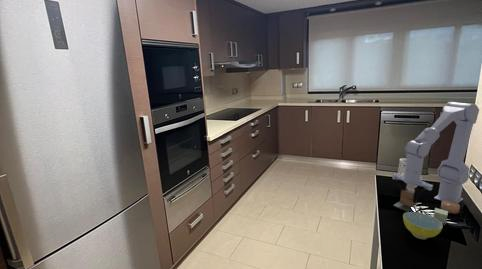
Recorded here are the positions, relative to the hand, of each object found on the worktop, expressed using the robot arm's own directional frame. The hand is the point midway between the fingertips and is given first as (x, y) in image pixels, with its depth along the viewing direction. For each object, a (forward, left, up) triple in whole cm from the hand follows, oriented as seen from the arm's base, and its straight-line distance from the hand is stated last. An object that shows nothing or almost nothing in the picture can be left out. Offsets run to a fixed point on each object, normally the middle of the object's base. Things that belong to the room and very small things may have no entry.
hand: (408, 199), depth 111 cm
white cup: (-12, -5, -4) cm, 13 cm away
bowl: (+18, +12, -4) cm, 22 cm away
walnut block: (0, 0, -2) cm, 2 cm away
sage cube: (+1, +12, -3) cm, 13 cm away
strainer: (-21, -11, -4) cm, 24 cm away
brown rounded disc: (-12, +11, -4) cm, 17 cm away
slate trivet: (0, 0, -3) cm, 3 cm away
